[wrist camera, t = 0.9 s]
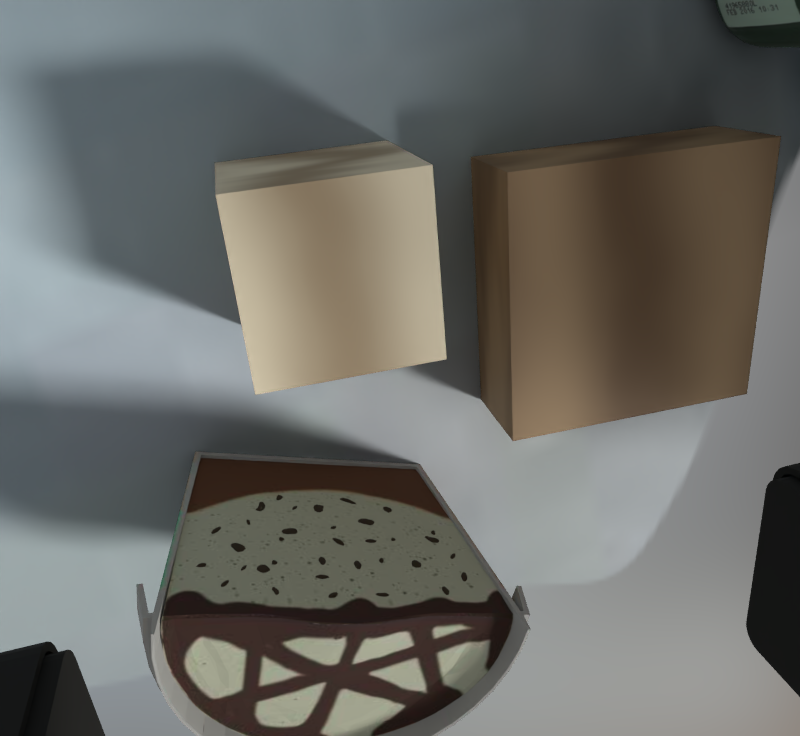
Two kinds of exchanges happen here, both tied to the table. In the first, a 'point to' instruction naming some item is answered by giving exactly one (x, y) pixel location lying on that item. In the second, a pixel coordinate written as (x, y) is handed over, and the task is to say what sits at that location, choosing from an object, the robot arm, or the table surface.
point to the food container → (325, 603)
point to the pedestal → (619, 274)
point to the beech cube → (333, 262)
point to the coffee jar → (763, 21)
